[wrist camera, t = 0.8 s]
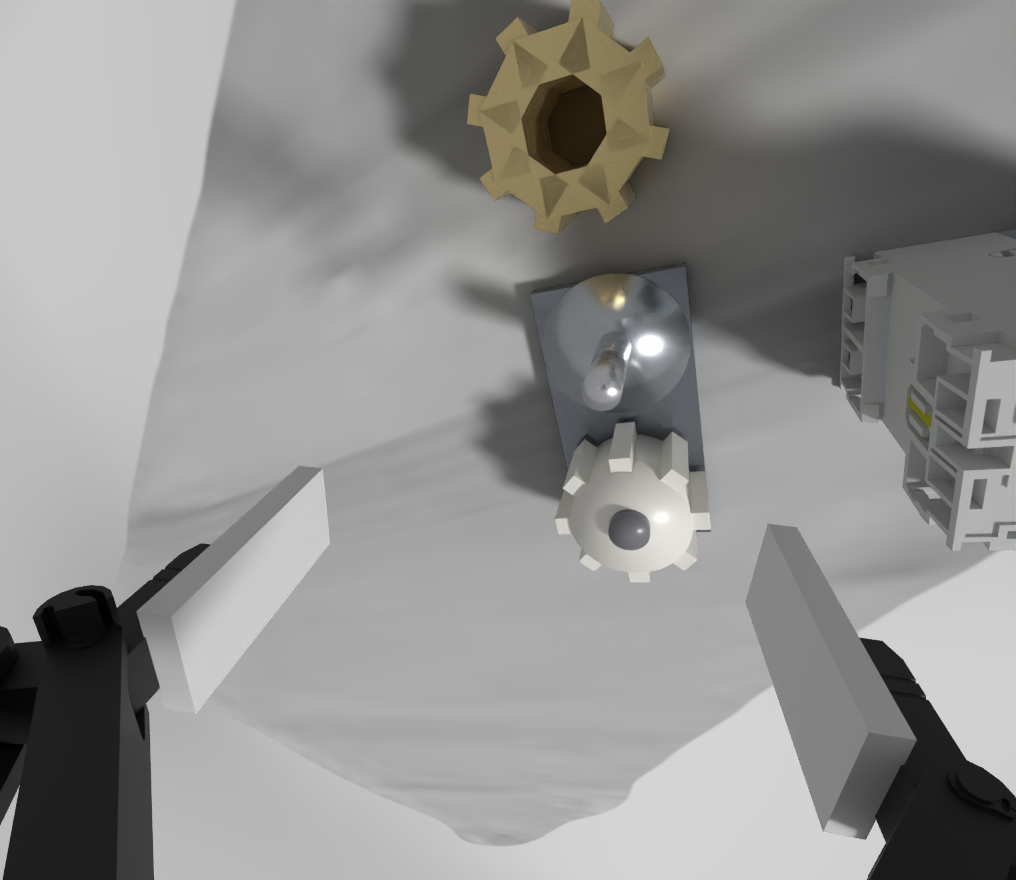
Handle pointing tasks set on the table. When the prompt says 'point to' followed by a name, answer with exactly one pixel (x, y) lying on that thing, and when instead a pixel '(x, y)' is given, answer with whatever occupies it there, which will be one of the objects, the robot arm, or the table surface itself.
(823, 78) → the table surface
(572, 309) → the gear plate
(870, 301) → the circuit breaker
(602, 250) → the table surface
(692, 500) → the gear
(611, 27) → the brass gear
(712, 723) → the table surface
